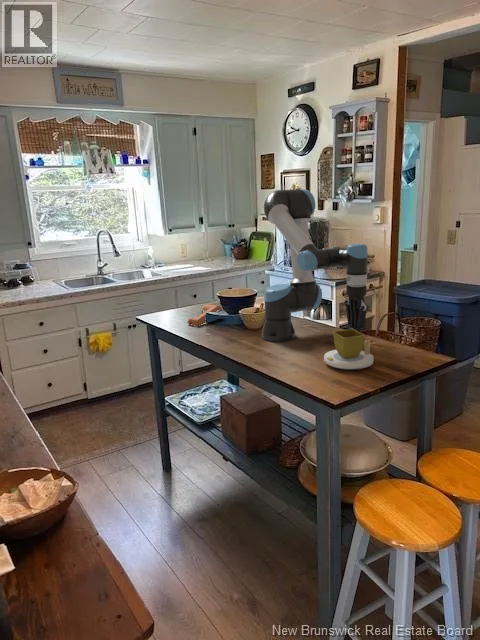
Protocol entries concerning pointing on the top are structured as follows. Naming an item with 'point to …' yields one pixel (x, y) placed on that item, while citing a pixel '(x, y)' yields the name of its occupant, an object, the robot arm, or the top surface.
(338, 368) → the turntable base
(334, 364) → the disc
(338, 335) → the flower pot
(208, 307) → the crank
